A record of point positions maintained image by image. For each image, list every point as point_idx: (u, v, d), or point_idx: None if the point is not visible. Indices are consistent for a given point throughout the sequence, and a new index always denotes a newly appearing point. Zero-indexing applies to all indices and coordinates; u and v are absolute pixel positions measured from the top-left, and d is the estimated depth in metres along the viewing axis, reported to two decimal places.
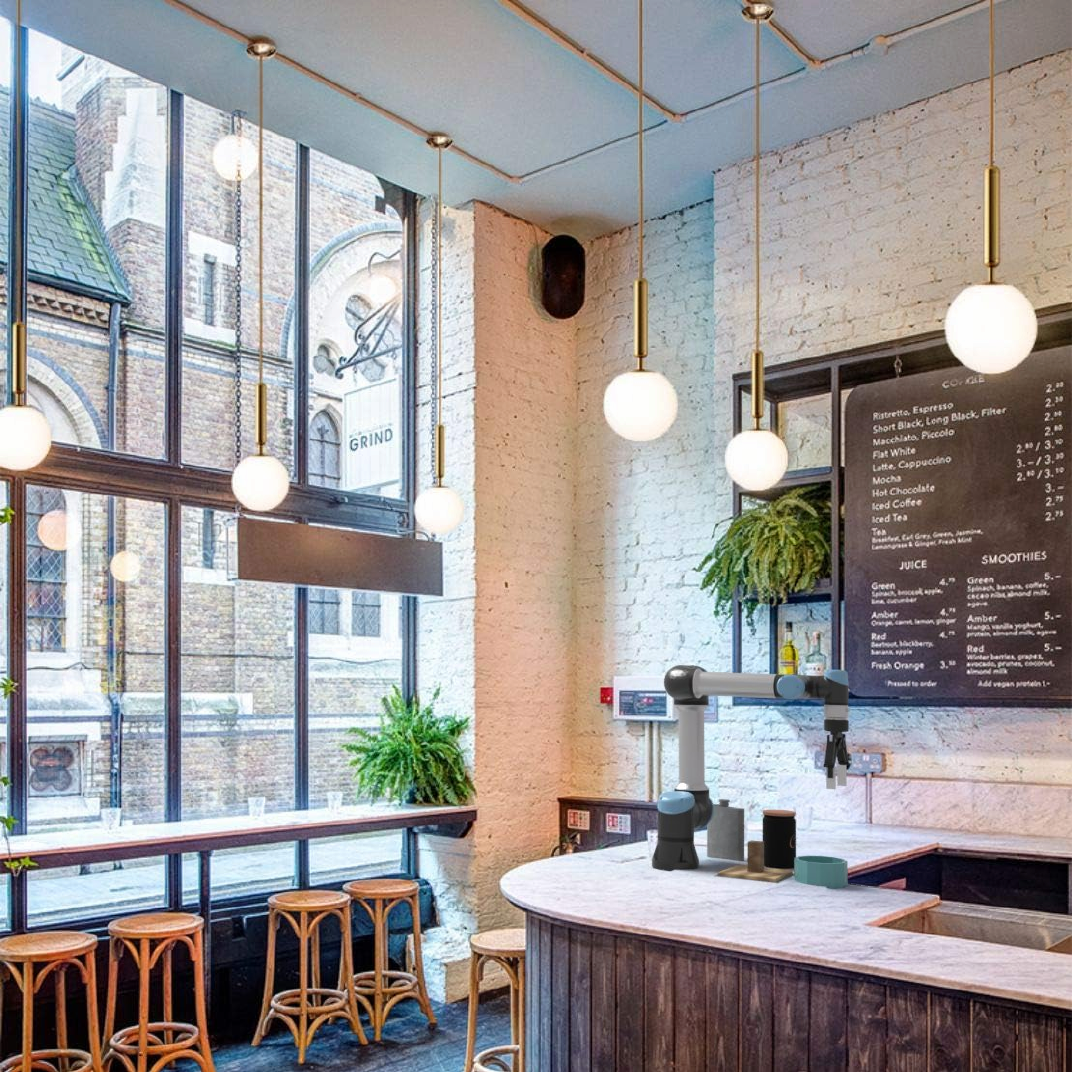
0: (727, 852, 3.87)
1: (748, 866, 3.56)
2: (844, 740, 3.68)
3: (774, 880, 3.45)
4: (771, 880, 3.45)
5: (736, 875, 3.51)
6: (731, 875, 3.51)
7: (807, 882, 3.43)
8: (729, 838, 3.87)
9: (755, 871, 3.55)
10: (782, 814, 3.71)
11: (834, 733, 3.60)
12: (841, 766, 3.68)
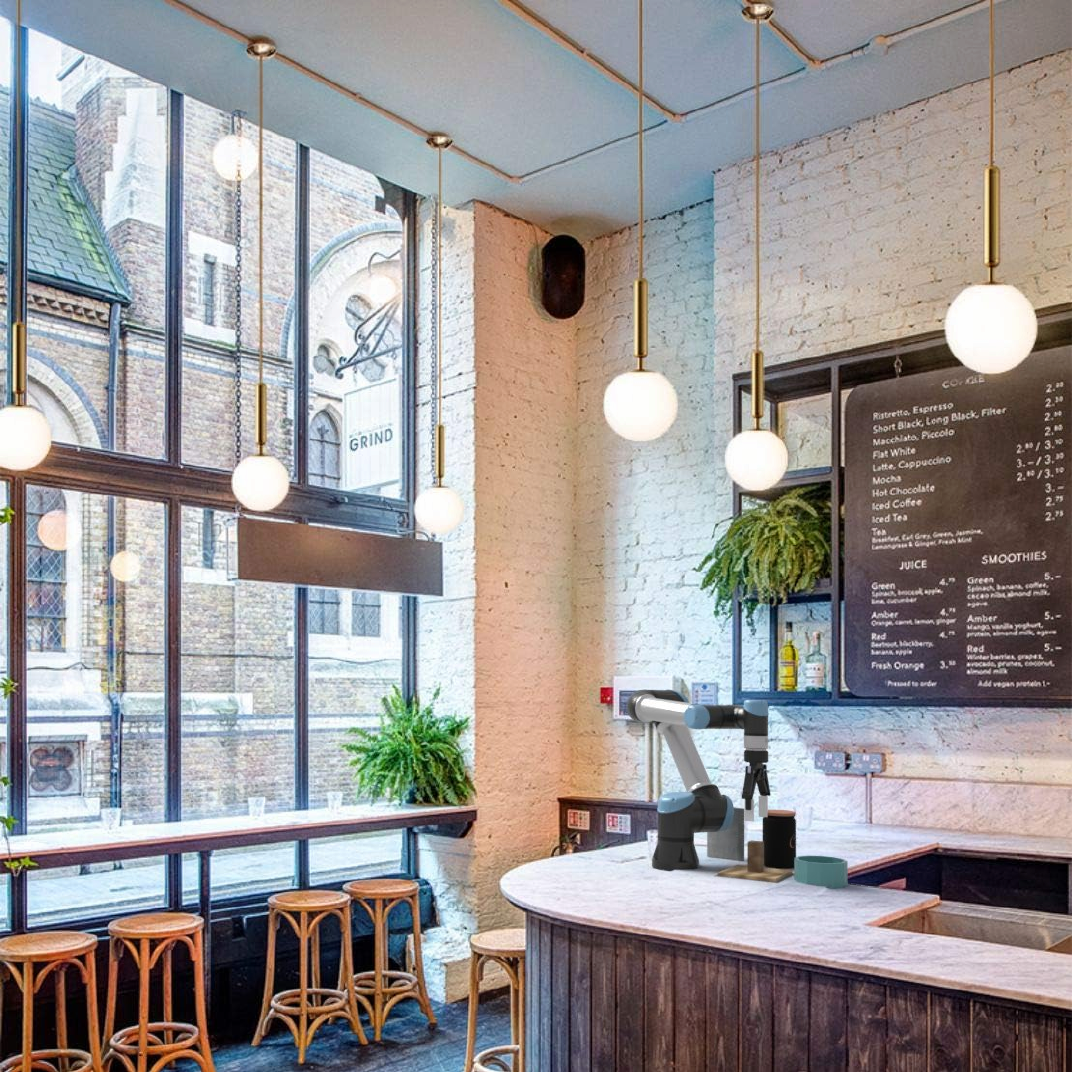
0: (727, 852, 3.87)
1: (748, 866, 3.56)
2: (765, 771, 3.65)
3: (774, 880, 3.45)
4: (771, 880, 3.45)
5: (736, 875, 3.51)
6: (731, 875, 3.51)
7: (807, 882, 3.43)
8: (729, 838, 3.87)
9: (755, 871, 3.55)
10: (782, 814, 3.71)
11: (753, 764, 3.57)
12: (762, 797, 3.65)
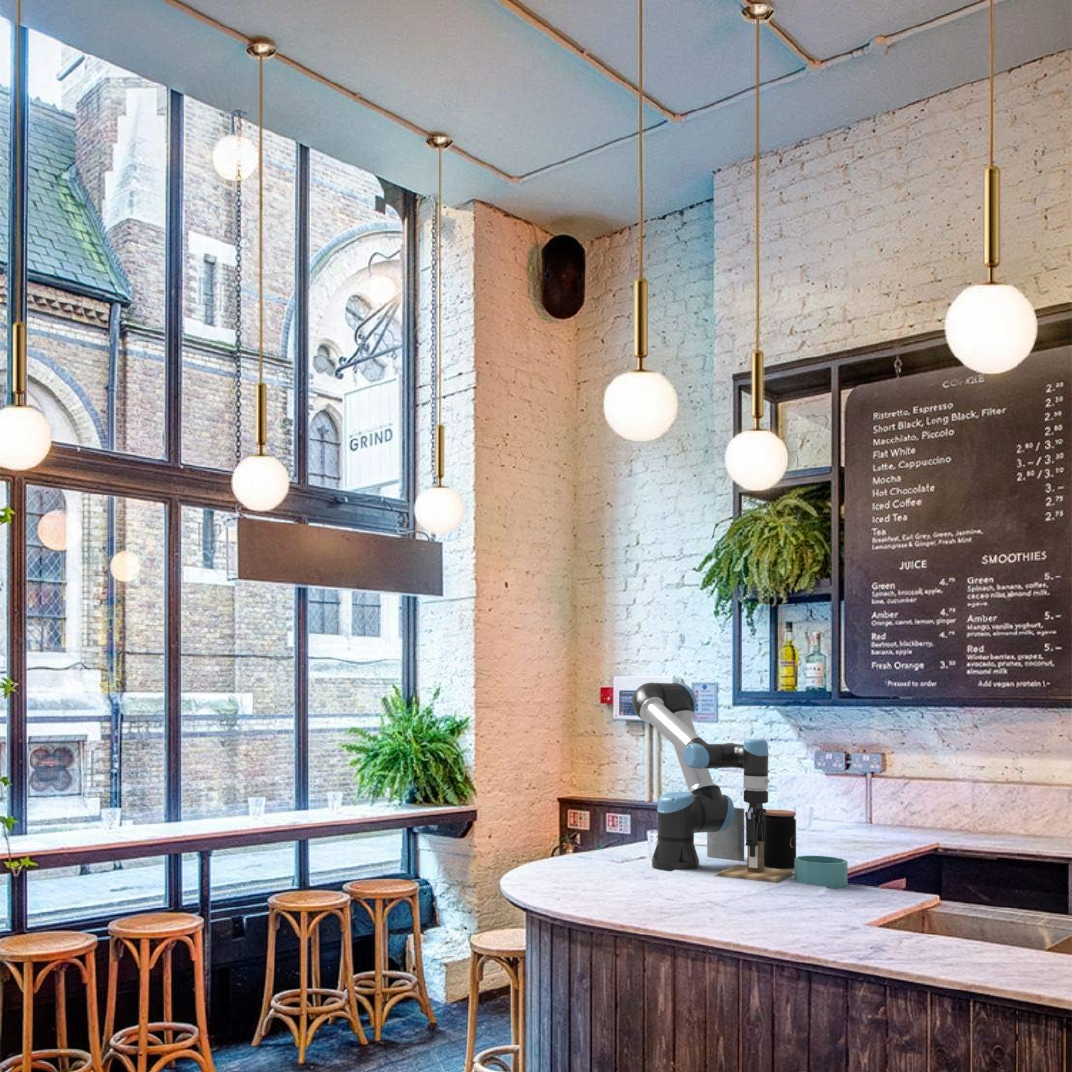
0: (727, 852, 3.87)
1: (748, 866, 3.56)
2: (764, 814, 3.63)
3: (774, 880, 3.45)
4: (771, 880, 3.45)
5: (736, 875, 3.51)
6: (731, 875, 3.51)
7: (807, 882, 3.43)
8: (729, 838, 3.87)
9: (755, 871, 3.55)
10: (782, 814, 3.71)
11: (753, 805, 3.56)
12: None
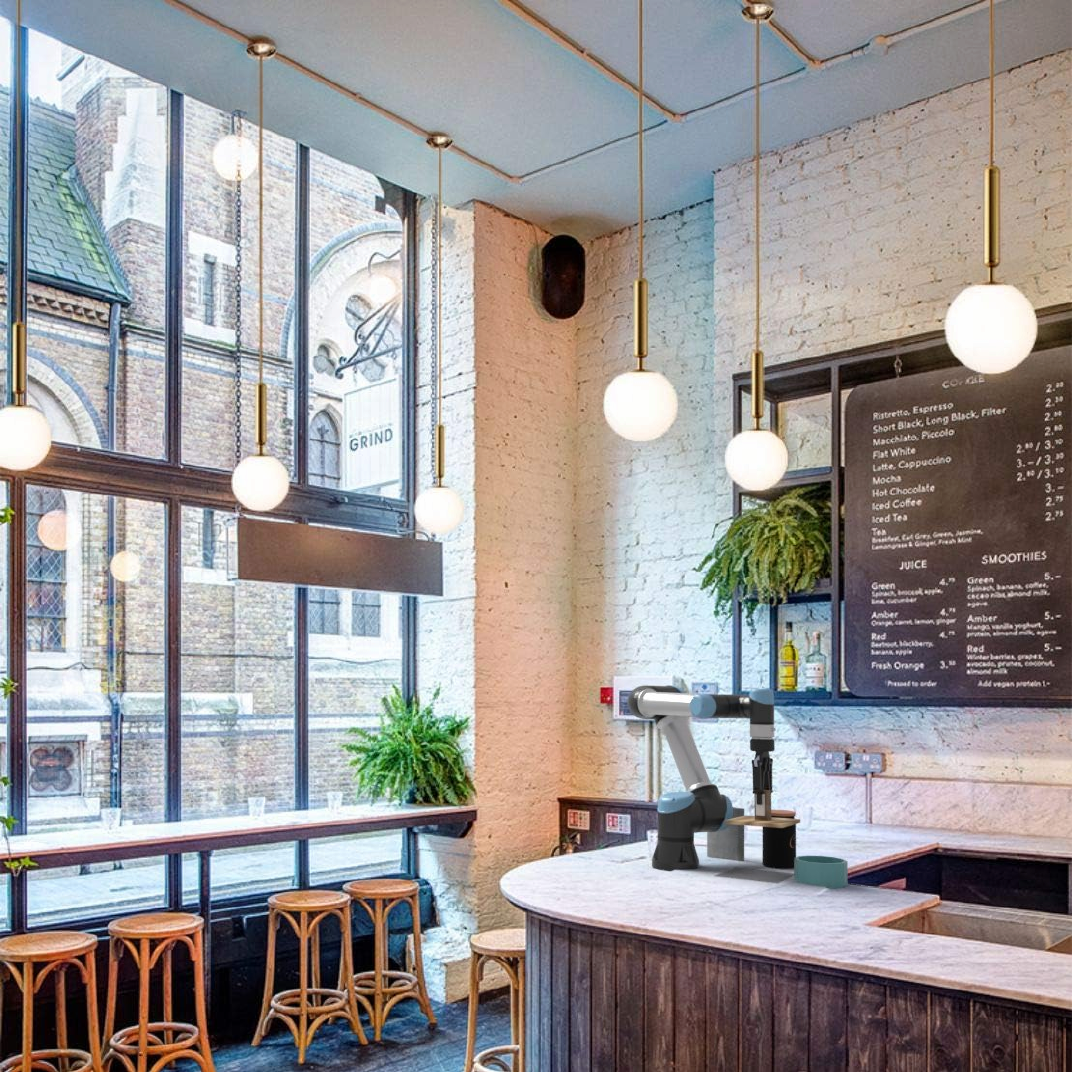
0: (727, 852, 3.87)
1: (755, 814, 3.57)
2: (771, 764, 3.63)
3: (781, 826, 3.45)
4: (778, 826, 3.46)
5: (743, 822, 3.51)
6: (738, 822, 3.52)
7: (807, 882, 3.43)
8: (729, 838, 3.87)
9: (762, 819, 3.56)
10: (782, 814, 3.71)
11: (759, 753, 3.57)
12: None
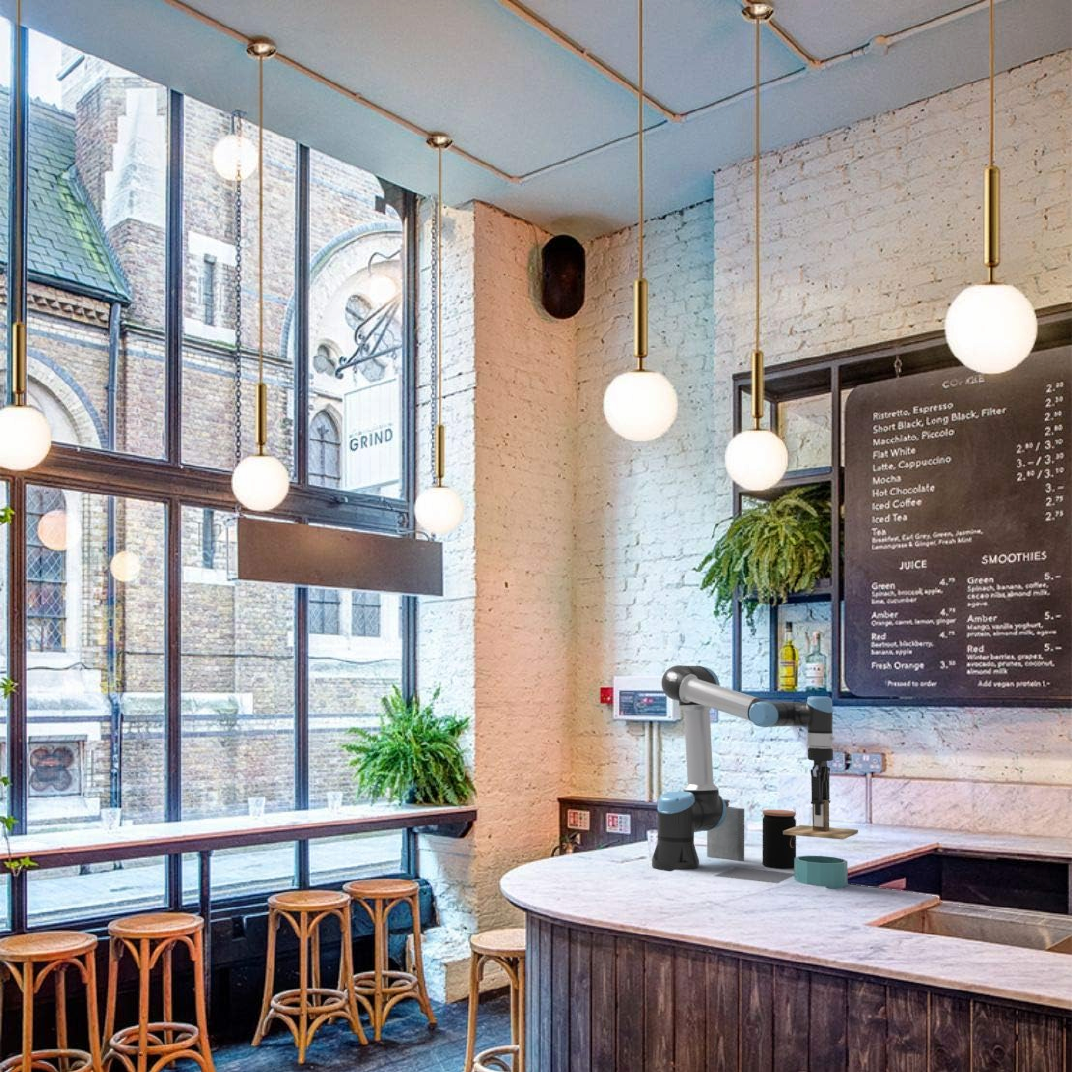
0: (727, 852, 3.87)
1: (813, 825, 3.49)
2: (828, 773, 3.55)
3: (842, 837, 3.38)
4: (839, 838, 3.38)
5: (802, 833, 3.43)
6: (797, 833, 3.44)
7: (807, 882, 3.43)
8: (729, 838, 3.87)
9: (821, 830, 3.48)
10: (782, 814, 3.71)
11: (818, 762, 3.49)
12: None
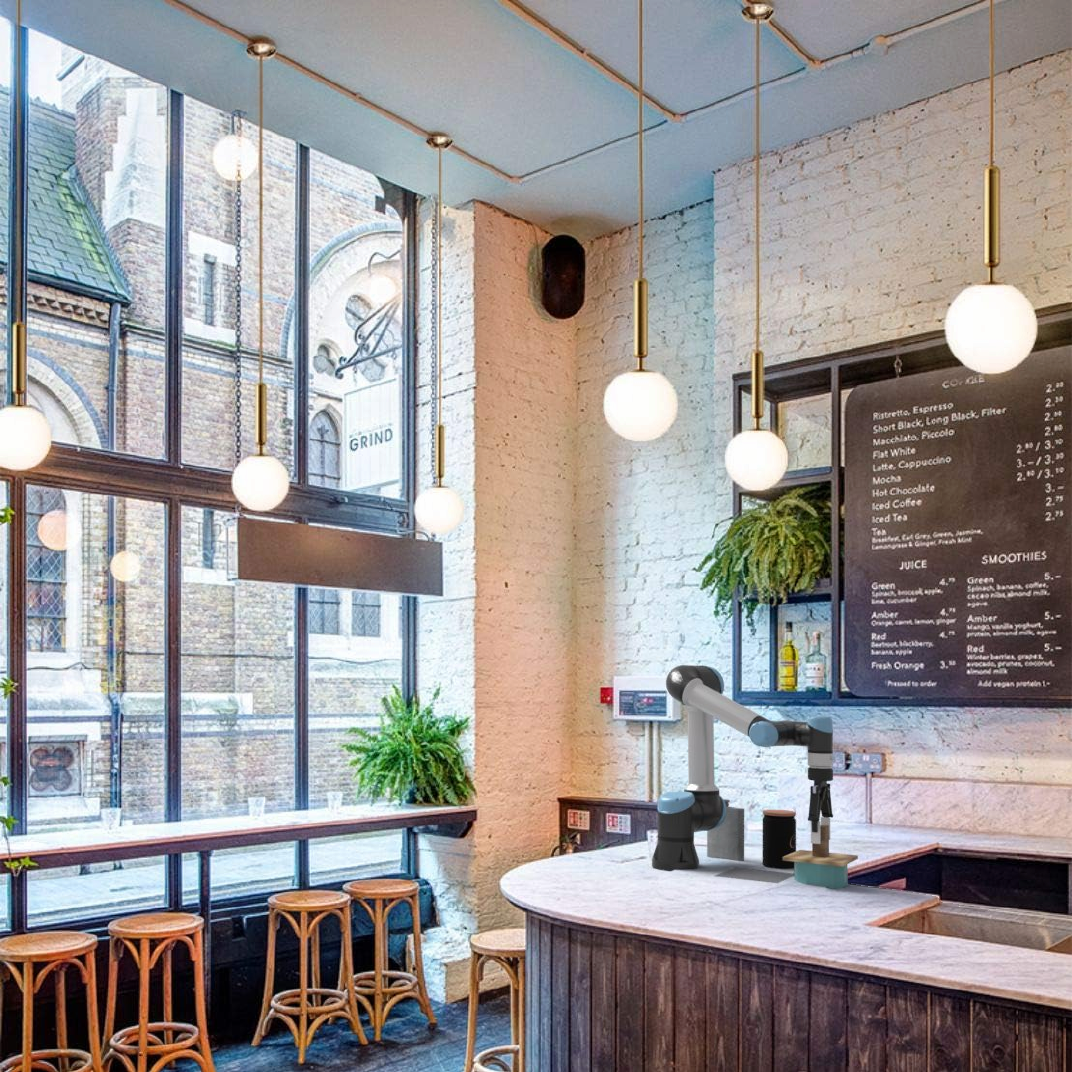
0: (727, 852, 3.87)
1: (813, 851, 3.48)
2: (828, 790, 3.55)
3: (842, 864, 3.37)
4: (839, 864, 3.37)
5: (802, 859, 3.43)
6: (796, 860, 3.43)
7: (807, 882, 3.43)
8: (729, 838, 3.87)
9: (820, 856, 3.47)
10: (782, 814, 3.71)
11: (818, 782, 3.48)
12: (825, 819, 3.55)
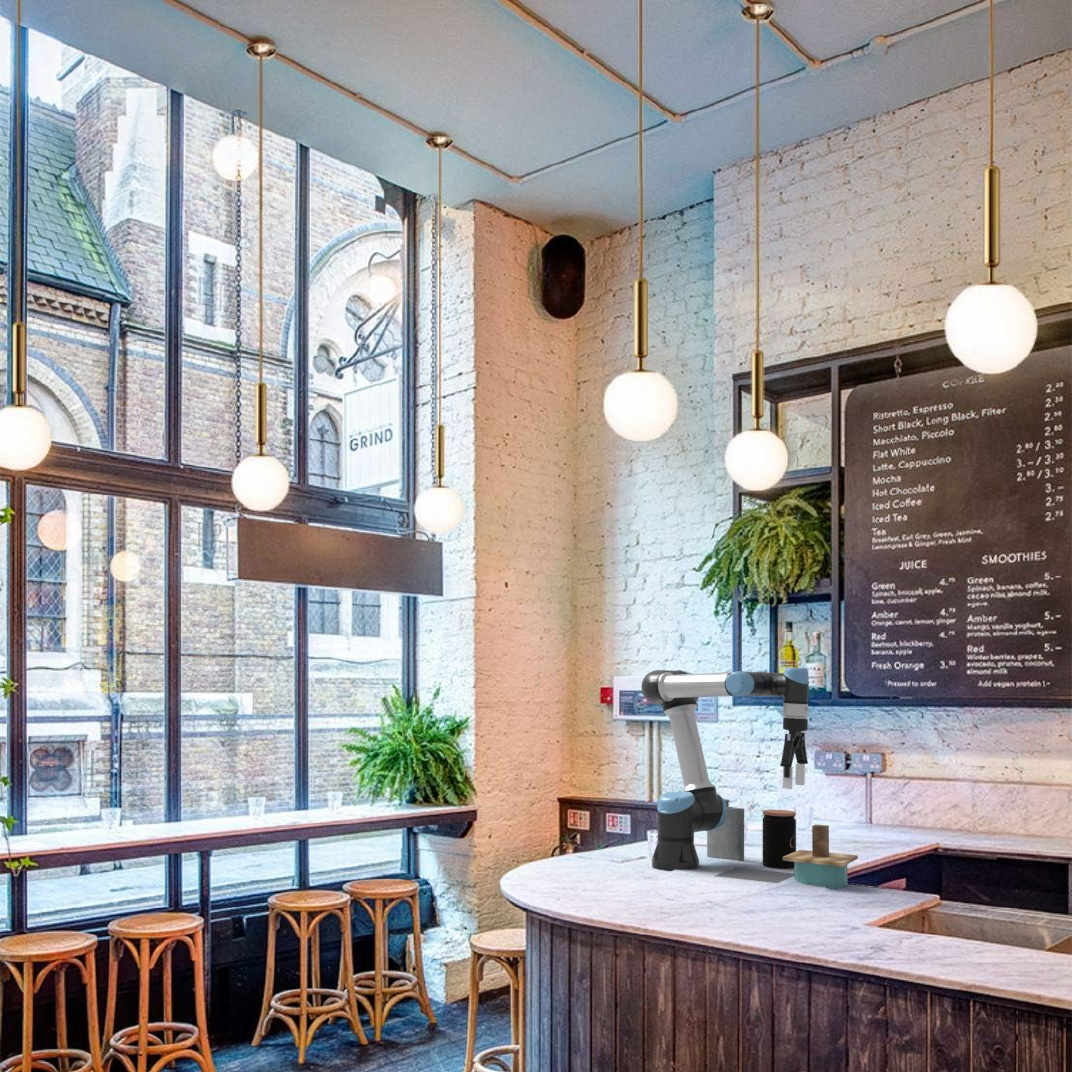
0: (727, 852, 3.87)
1: (813, 851, 3.48)
2: (803, 739, 3.63)
3: (842, 864, 3.37)
4: (839, 864, 3.37)
5: (802, 859, 3.43)
6: (796, 860, 3.43)
7: (807, 882, 3.43)
8: (729, 838, 3.87)
9: (820, 856, 3.47)
10: (782, 814, 3.71)
11: (792, 732, 3.55)
12: (799, 765, 3.63)
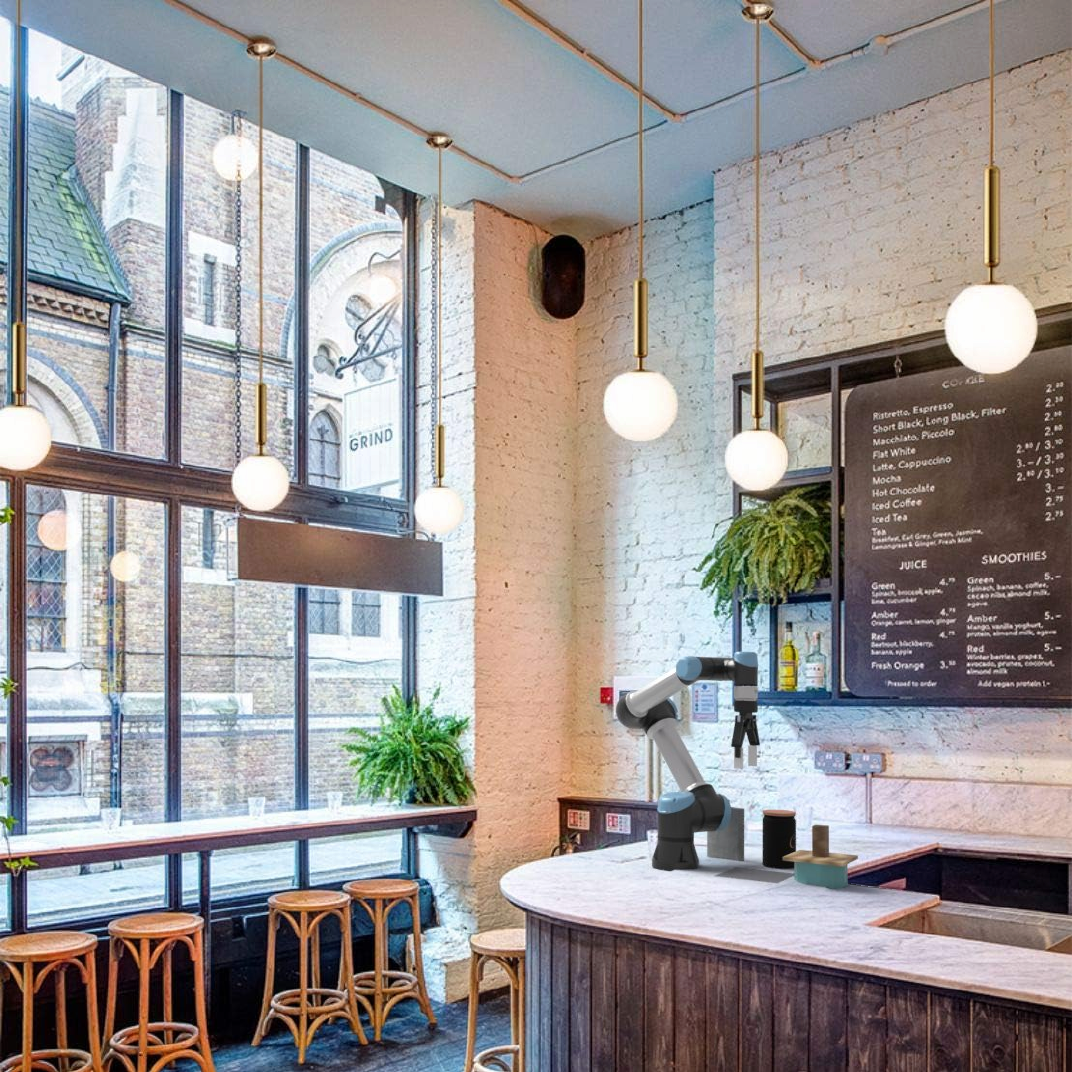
0: (727, 852, 3.87)
1: (813, 851, 3.48)
2: (755, 721, 3.74)
3: (842, 864, 3.37)
4: (839, 864, 3.37)
5: (802, 859, 3.43)
6: (796, 860, 3.43)
7: (807, 882, 3.43)
8: (729, 838, 3.87)
9: (820, 856, 3.47)
10: (782, 814, 3.71)
11: (743, 714, 3.66)
12: (752, 747, 3.74)
